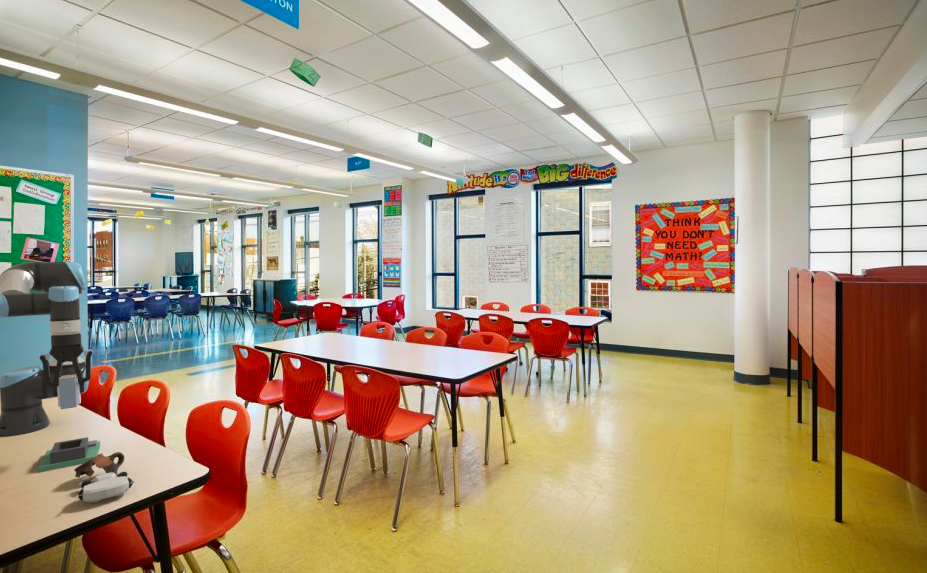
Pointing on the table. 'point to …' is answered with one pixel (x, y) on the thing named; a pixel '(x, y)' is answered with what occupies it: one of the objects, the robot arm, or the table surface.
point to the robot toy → (104, 487)
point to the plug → (68, 391)
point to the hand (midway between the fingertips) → (69, 404)
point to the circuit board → (69, 454)
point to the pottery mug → (100, 464)
